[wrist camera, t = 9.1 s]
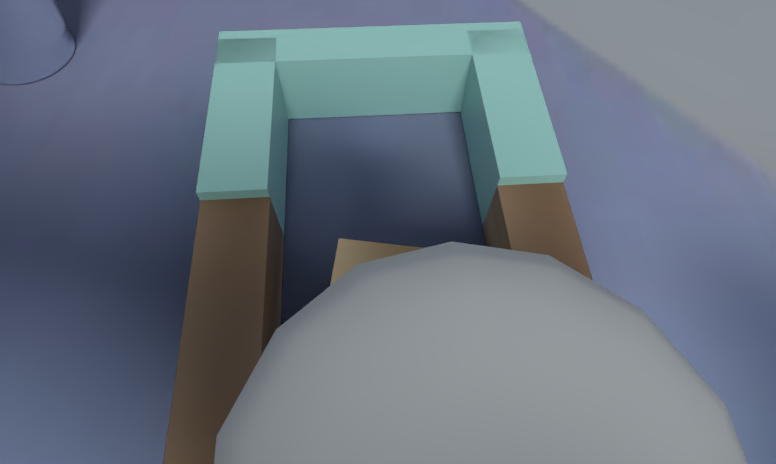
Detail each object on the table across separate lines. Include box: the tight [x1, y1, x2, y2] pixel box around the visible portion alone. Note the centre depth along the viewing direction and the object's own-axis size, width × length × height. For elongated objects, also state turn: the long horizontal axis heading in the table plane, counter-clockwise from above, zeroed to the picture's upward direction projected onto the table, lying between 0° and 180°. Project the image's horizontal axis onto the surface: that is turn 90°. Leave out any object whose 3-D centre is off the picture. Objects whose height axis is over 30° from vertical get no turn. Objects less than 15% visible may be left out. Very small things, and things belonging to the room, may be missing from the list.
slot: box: [163, 182, 593, 464], centre depth 16 cm, size 13×14×3 cm
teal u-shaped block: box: [196, 22, 567, 235], centre depth 21 cm, size 13×8×4 cm, turn 94°
